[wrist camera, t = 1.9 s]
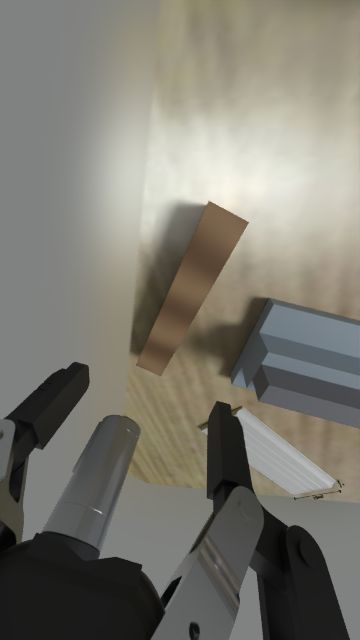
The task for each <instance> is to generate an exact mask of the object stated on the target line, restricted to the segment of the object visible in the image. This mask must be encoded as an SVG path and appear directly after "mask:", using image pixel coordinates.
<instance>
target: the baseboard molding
mask: <svg viewBox="0 0 360 640" xmlns="http://www.w3.org/2000/svg"><path fill="white" fill-rule="evenodd" d="M232 415H233V416H236V417H238V419H239V421H240V423H241V425H242V427H243V432H244V440H245V445H246V451H247V457H248V463H249V465H251V466H252V467H254V468H255V469H257V470H258V471H259V472H261V473H262V474H264V475H265V476H267V477H268V478H270V479H271V480H272V481H274V482H275V483H277V484H278V485H280V486H281V487H282V488H284V489H285V490H287V491H288V492H290V493H291V494H292V495H294V494H300V493H305V492H308V491H315V490H319V489H320V490H322V489H324V488H332V485H333V484H334V483H337V482H336V480H334V479H333V478H332V477H331V476H329V475H328V474H327V473H325V472H324V471H323V470H322V469H320V468H319V467H318V466H317V465H315V464H314V463H313V462H312V461H310V460H309V459H308V458H307V457H305V456H304V455H303V454H302V453H300V452H299V451H298V450H297V449H295V448H294V447H293V446H292V445H290V444H289V443H288V442H286V441H285V440H284V439H283V438H281V437H280V436H279V435H278V434H276V433H275V432H274V431H273V430H271V429H270V428H269V427H268V426H266V425H265V424H264V423H263V422H261V421H260V420H259V419H258V418H256V417H255V416H254V415H253V414H251V413H250V412H249V411H248V410H246V409H245V408H244V407H240V408H238V409H236V410H234V411H232ZM201 431H202V432H204V433H205V434H206V435H207V434H208V423H207V424H205V425H203V426H202V428H201ZM338 483H339V484H340V482H339V480H338ZM340 485H341V484H340ZM342 485H344V484H342ZM340 487H341V486H340ZM339 491H340V490H339ZM339 491H337V492H339ZM331 493H333V492H331ZM340 493H341V491H340ZM325 494H327V493H325ZM319 495H321V494H319ZM313 496H315V495H313ZM322 496H323V495H322ZM307 497H310V496H307ZM316 497H318V498H316ZM316 497H315V498H316V499H319V498H323V497H321V496H316ZM301 498H304V497H301ZM313 498H314V497H313ZM315 498H314V499H315ZM294 499H296V498H295V497H294Z"/></svg>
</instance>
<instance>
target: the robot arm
mask: <svg viewBox="0 0 360 640" xmlns="http://www.w3.org/2000/svg"><path fill="white" fill-rule="evenodd" d="M89 382H90V381H89V367H88V365H85V364H81V363H78V362H74V363H72V364H71V365H70V366H69V367H68V368H67V369H63V368H62V369H61V370H58V371H57V372H55V373H53V374H52V375H51V376H50V377H49V378H47V379H46V380H45V381H44V383H42V384H41V385H40V386H39V387H38V388H37V390H35V391H34V392H33V393H32V394H30V395H29V396H28V397H27V398H26V399H25V400H24V401H23V402H22V403H21V404H20V405H19V406H18V407H17V408H16V409H15V410H14V411H13V412H11V413H10V414H9V415H8V416H7V417H6V418H4V419H3V420H0V640H228V639H229V637H230V634H231V631H232V628H233V626H234V623H235V620H236V617H237V613H238V609H239V604H240V598H239V592H240V588H241V585H242V582H243V579H244V577H245V574H246V571H247V569H248V566H250V567H251V568H252V569H253V570H254V571H256V572H257V581H258V591H259V601H260V611H261V621H262V631H263V640H350V638H349V635H348V632H347V629H346V626H345V623H344V619H343V616H342V613H341V610H340V606H339V603H338V600H337V597H336V594H335V590H334V587H333V584H332V581H331V577H330V575H329V571H328V568H327V565H326V561H325V558H324V556H323V554H322V551H321V549H320V548H319V546H318V544H317V543H316V541H315V540H314V538H313V537H312V536H311V535H310V534H309V533H308V532H307V531H306V530H305V529H303V528H302V527H300V526H296V525H293V526H291V527H288V526H287V525H285V524H284V523H282V522H281V521H280V520H278V519H277V518H276V517H274V516H273V515H272V514H270V513H269V512H268V511H267V510H266V509H265V508H264V507H263V506H262V505H261V504H260V502H259V500H258V499H257V497H256V495H255V493H254V490H253V487H252V482H251V476H250V469H249V463H248V457H247V451H246V445H245V440H244V432H243V427H242V425H241V423H240V421H239V419H238V417H236V416H233V415H232V412H231V406H230V404H227V403H223V402H219V401H217V402H216V403H215V405H214V407H213V409H212V411H211V413H210V416H209V419H208V434H207V498H208V499H211V500H213V507H214V508H213V509H214V510H213V512H212V514H211V515H210V517H209V518H208V520H207V522H206V523H205V525H204V527H203V529H202V530H201V532H200V534H199V535H198V537H197V538H196V540H195V542H194V544H193V545H192V547H191V549H190V550H189V552H188V553H187V555H186V556H185V558H184V559H183V560H182V562H181V563H180V565H179V566H178V568H177V570H176V571H175V572H174V574H173V576H172V577H171V579H170V581H169V582H168V584H167V586H166V587H165V589H164V591H163V592H162V594H161V595H160V597H159V595H158V593H157V591H156V589H155V587H154V586H153V584H152V582H151V580H150V579H149V578H148V577H147V575H146V574H145V573H143V572H142V571H141V569H142V565H141V564H138V563H134V562H131V561H128V560H125V559H122V558H118V557H112V558H104V559H98V558H99V555H100V552H101V549H102V546H103V543H104V540H105V537H106V534H107V531H108V528H109V525H110V522H111V519H112V516H113V513H114V510H115V507H116V504H117V501H118V498H119V495H120V492H121V489H122V486H123V483H124V480H125V477H126V474H127V471H128V468H129V465H130V462H131V459H132V456H133V453H134V451H135V447H136V444H137V441H138V438H139V435H140V428H139V427H138V425H137V424H136V423H135V422H133V421H132V420H130V419H128V418H126V417H123V416H119V415H110V416H107V417H105V418H104V419H103V421H102V422H99V424H98V425H97V427H96V429H95V431H94V433H93V434H92V436H91V438H90V440H89V442H88V444H87V445H86V447H85V449H84V450H83V452H82V454H81V456H80V458H79V459H78V461H77V463H76V465H75V466H74V469H73V473H74V474H73V475H72V477H71V479H70V481H69V483H68V484H67V486H66V488H65V490H64V492H63V493H62V495H61V497H60V499H59V501H58V503H57V504H56V506H55V508H54V510H53V512H52V513H51V515H50V517H49V519H48V521H47V523H46V524H45V526H44V528H43V530H42V533H41V534H39V533H36V534H35V536H34V538H33V539H32V540H28V541H24V542H21V541H22V534H23V525H24V512H23V497H24V490H25V482H26V475H27V467H28V460H29V454H30V453H31V452H32V451H33V449H34V448H38V449H41V450H43V449H44V447H45V446H46V445H47V443H48V442H49V441H50V439H51V438H52V437H53V435H54V434H55V432H56V431H57V430H58V428H59V427H60V426H61V424H62V423H63V422H64V420H65V419H66V418H67V416H68V415H69V414H70V412H71V411H72V409H73V408H74V407H75V406H76V404H77V403H78V402H79V400H80V399H81V397H82V396H83V395H84V393H85V392H86V391H87V389H88V386H89Z"/></svg>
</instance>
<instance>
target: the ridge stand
mask: <svg viewBox="0 0 360 640" xmlns="http://www.w3.org/2000/svg"><path fill="white" fill-rule="evenodd" d="M230 376H231V383H232V385H234V386H237V387H241V388H245V389H249V390H252V391H256V394H257V398H258V401H259V402H263V403H267V404H270V405H274V406H278V407H282V408H285V409H289V410H293V411H296V412H300V413H304V414H308V415H311V416H315V417H319V418H322V419H326V420H330V421H334V422H337V423H341V424H345V425H348V426H352V427H356V428H360V321H358V320H354V319H350V318H346V317H342V316H338V315H334V314H331V313H327V312H323V311H319V310H315V309H311V308H307V307H303V306H299V305H295V304H291V303H287V302H283V301H279V300H275V299H271V298H269V299H268V301H267V303H266V305H265V307H264V309H263V311H262V313H261V315H260V317H259V319H258V321H257V323H256V325H255V327H254V329H253V331H252V333H251V335H250V337H249V339H248V341H247V343H246V345H245V347H244V349H243V351H242V353H241V355H240V357H239V359H238V361H237V363H236V365H235V367H234V369H233V371H232V373H231V375H230Z"/></svg>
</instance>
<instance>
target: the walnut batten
mask: <svg viewBox="0 0 360 640" xmlns="http://www.w3.org/2000/svg"><path fill="white" fill-rule="evenodd" d="M248 223H249V222H247V221H245V220H244V219H242V218H240V217H238V216H236V215H234V214H232V213H231V212H229V211H227V210H225V209H223V208H221V207H219V206H218V205H216V204H214V203H212V202H210V201H209V202H208V204H207V206H206V209H205V211H204V213H203V215H202V218H201V220H200V222H199V224H198V227H197V229H196V231H195V233H194V236H193V238H192V240H191V242H190V245H189V247H188V249H187V251H186V254H185V256H184V258H183V261H182V263H181V265H180V267H179V270H178V272H177V274H176V276H175V279H174V281H173V283H172V285H171V288H170V290H169V292H168V294H167V297H166V299H165V301H164V303H163V306H162V308H161V310H160V313H159V315H158V317H157V319H156V322H155V324H154V326H153V328H152V331H151V333H150V335H149V337H148V340H147V342H146V344H145V346H144V349H143V351H142V353H141V355H140V358H139V360H138V362H137V364H136V365H137V366H139V367H141V368H144V369H146V370H148V371H150V372H153V373H155V374H157V375H159V376H161V375H162V373H163V371H164V370H165V368H166V366H167V364H168V363H169V361H170V359H171V358H172V356H173V354H174V352H175V351H176V349H177V347H178V345H179V344H180V342H181V340H182V338H183V337H184V335H185V333H186V331H187V330H188V328H189V326H190V324H191V323H192V321H193V319H194V317H195V316H196V314H197V312H198V310H199V309H200V307H201V305H202V303H203V302H204V300H205V298H206V296H207V295H208V293H209V291H210V290H211V288H212V286H213V284H214V283H215V281H216V279H217V277H218V276H219V274H220V272H221V270H222V269H223V267H224V265H225V263H226V262H227V260H228V258H229V256H230V255H231V253H232V251H233V249H234V248H235V246H236V244H237V242H238V241H239V239H240V237H241V235H242V234H243V232H244V230H245V229H246V227H247V225H248Z"/></svg>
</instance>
